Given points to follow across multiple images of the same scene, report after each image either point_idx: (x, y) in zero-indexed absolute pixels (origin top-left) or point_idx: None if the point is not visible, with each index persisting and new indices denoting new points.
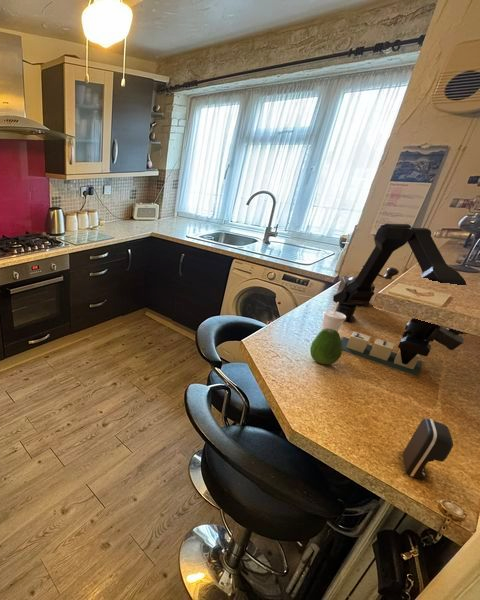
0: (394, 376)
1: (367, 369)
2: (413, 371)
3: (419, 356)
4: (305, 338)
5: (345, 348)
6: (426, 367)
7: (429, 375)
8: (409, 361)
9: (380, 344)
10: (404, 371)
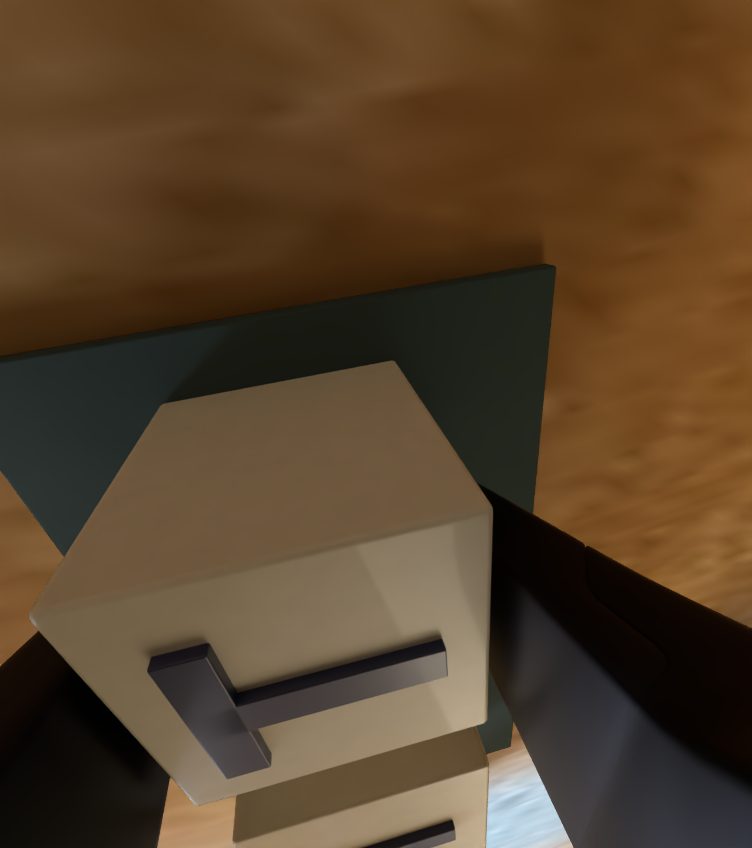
0: (680, 415)
1: (678, 557)
2: (450, 339)
3: (446, 526)
4: (490, 813)
5: None
6: (38, 252)
7: (323, 142)
8: (488, 490)
9: (459, 834)
10: (539, 400)
